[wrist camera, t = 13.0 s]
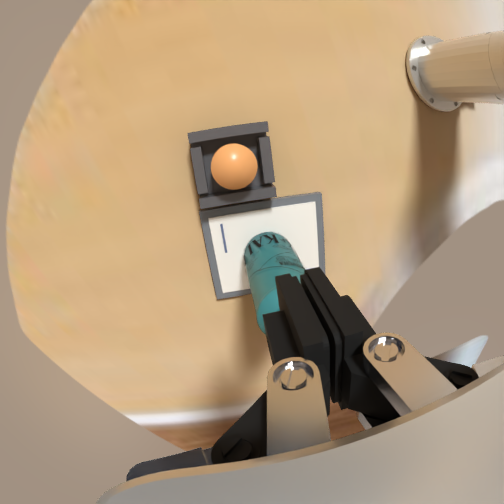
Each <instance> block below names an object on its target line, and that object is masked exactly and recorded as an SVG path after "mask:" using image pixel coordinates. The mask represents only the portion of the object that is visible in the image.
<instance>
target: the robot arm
mask: <svg viewBox="0 0 504 504" xmlns="http://www.w3.org/2000/svg"><path fill="white" fill-rule="evenodd" d="M406 66H407V72H408V76H409V79H410V82H411V84H412V86H413V88H414V90H415V92H416V93H417V94H418V96H419V97H420V99H421V100H422V101H423V102H424V103H425V104H427V105H428V106H429V107H431V108H433V109H435V110H438V111H452V110H454V109H456V108H458V107H459V106H460V105H461V103H462V102H475V103H493V104H504V31H496V32H489V33H483V34H477V35H472V36H467V37H462V38H457V39H452V40H448V41H443V40H441V39H440V38H437V37H435V36H422V37H419V38H417V39H416V40H414V41H413V42H412V43H411V44H410V46H409V49H408V52H407V56H406ZM275 282H276V289H277V295H278V302H279V309H280V311H276V312H272V313H267V314H262V315H263V322H264V327H265V332H266V337H267V342H268V347H269V351H270V355H271V359H272V363H273V366H272V367H271V369H270V370H269V372H268V376H267V390H266V391H265V392H264V393H263V394H262V396H261V397H260V398H259V399H258V400H257V401H256V402H255V403H254V404H253V405H252V406H251V407H250V408H249V409H248V410H247V411H246V412H245V414H244V415H243V416H242V417H241V418H240V419H239V420H238V421H237V422H236V423H235V424H234V425H233V426H232V427H231V428H230V429H229V430H228V431H227V432H226V433H225V434H224V435H223V436H222V437H221V438H220V439H218V441H217V442H216V443H215V444H214V446H213V447H211V448H208V449H204V450H202V448H201V447H200V448H197V449H193V450H190V451H186V452H182V453H179V454H175V455H171V456H167V457H163V458H159V459H154V460H150V461H145V462H141V463H139V464H136V465H135V466H134V467H132V468H131V469H130V471H129V472H128V474H127V478H126V479H127V480H126V482H124V483H121V484H119V485H117V486H115V487H113V488H111V489H109V490H108V491H106V492H105V493H104V494H103V495H102V496H101V497H100V498H99V500H98V501H97V502H96V504H504V355H503V356H500V357H497V358H494V359H491V360H487V361H484V362H481V363H477V364H473V365H472V368H470V367H468V366H465V365H461V364H456V363H451V362H447V361H442V360H438V359H433V358H429V357H424V356H423V355H421V354H420V353H419V352H418V351H417V350H416V349H415V348H414V347H413V346H412V345H411V344H410V343H409V342H408V341H407V340H405V339H404V338H402V337H401V336H400V335H397V334H394V333H379V334H376V333H375V332H374V330H373V329H372V327H371V326H370V324H369V323H368V322H367V320H366V319H365V317H364V316H363V315H362V313H361V312H360V310H359V309H358V308H357V306H356V305H355V303H354V302H353V301H352V299H351V298H350V297H349V296H348V295H345V296H341V297H340V295H339V294H338V292H337V291H336V290H335V288H334V287H333V285H332V284H331V282H330V281H329V280H328V278H327V277H326V275H325V274H324V272H323V271H322V270H321V268H320V267H316V268H312V269H307V270H305V271H304V274H302V275H300V282H299V280H298V278H297V276H293V277H292V276H291V274H290V273H288V274H283V275H279V276H275ZM330 397H331V400H332V402H333V403H336V402H338V403H339V406H340V408H341V410H342V409H346V408H348V409H351V410H354V411H356V415H357V417H358V419H359V421H360V422H361V424H362V425H363V427H364V428H365V430H364V431H361V432H358V433H355V434H352V435H349V436H346V437H343V438H340V439H336V440H333V441H331V438H330V431H329V425H328V419H327V417H328V415H329V412H330Z"/></svg>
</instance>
